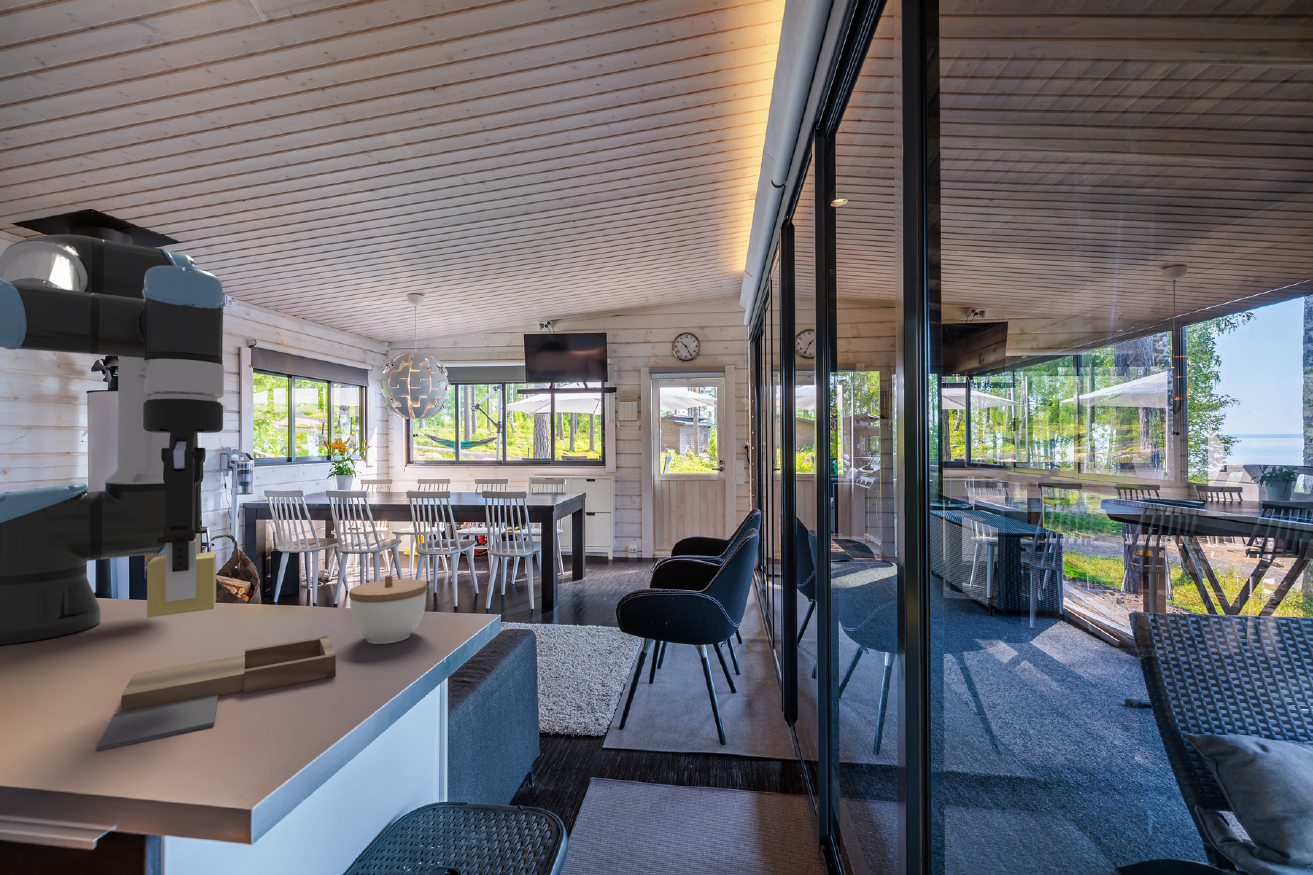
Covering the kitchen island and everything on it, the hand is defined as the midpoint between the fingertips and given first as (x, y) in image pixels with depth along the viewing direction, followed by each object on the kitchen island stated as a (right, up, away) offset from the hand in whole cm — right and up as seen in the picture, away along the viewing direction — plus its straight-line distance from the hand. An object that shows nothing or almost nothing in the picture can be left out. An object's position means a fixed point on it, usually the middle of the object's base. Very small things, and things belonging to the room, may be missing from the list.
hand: (183, 593), depth 72 cm
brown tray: (+5, -12, +3) cm, 13 cm away
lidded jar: (+16, -12, +20) cm, 28 cm away
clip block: (0, +1, 0) cm, 1 cm away
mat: (+4, -11, -8) cm, 15 cm away
